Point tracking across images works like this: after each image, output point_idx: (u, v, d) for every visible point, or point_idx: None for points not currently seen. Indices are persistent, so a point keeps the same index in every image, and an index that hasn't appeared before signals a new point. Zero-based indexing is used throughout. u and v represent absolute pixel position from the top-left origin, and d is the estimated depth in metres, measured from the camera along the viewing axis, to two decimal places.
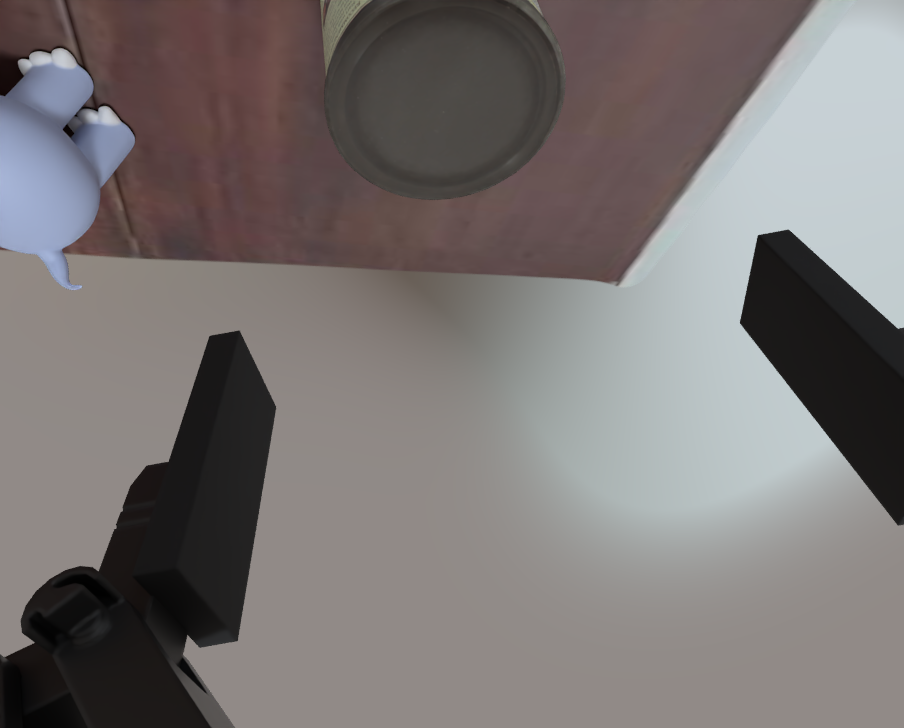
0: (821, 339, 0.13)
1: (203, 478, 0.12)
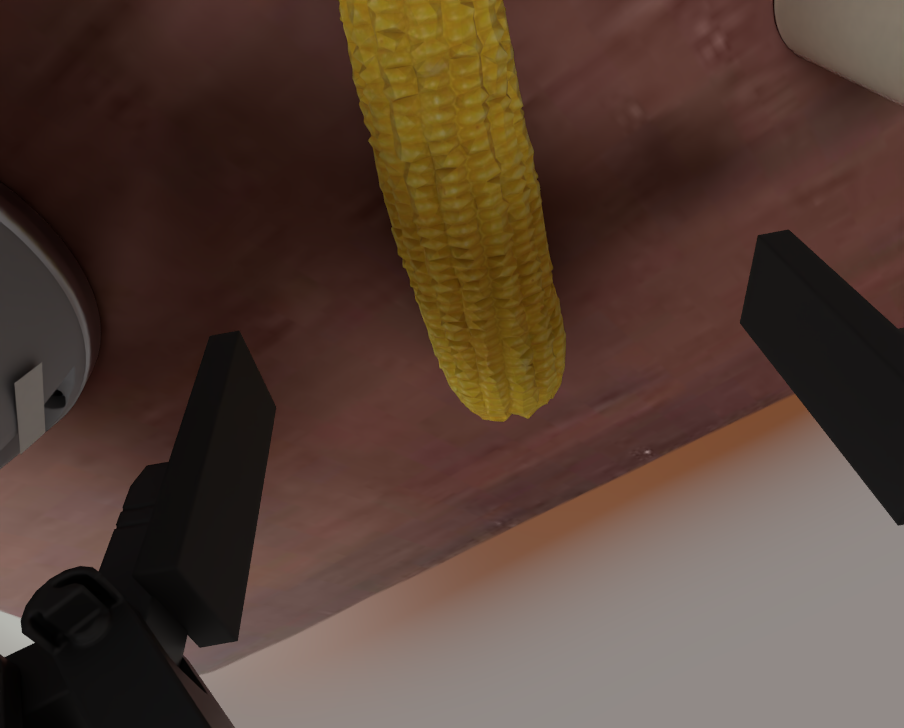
0: (821, 339, 0.13)
1: (203, 478, 0.12)
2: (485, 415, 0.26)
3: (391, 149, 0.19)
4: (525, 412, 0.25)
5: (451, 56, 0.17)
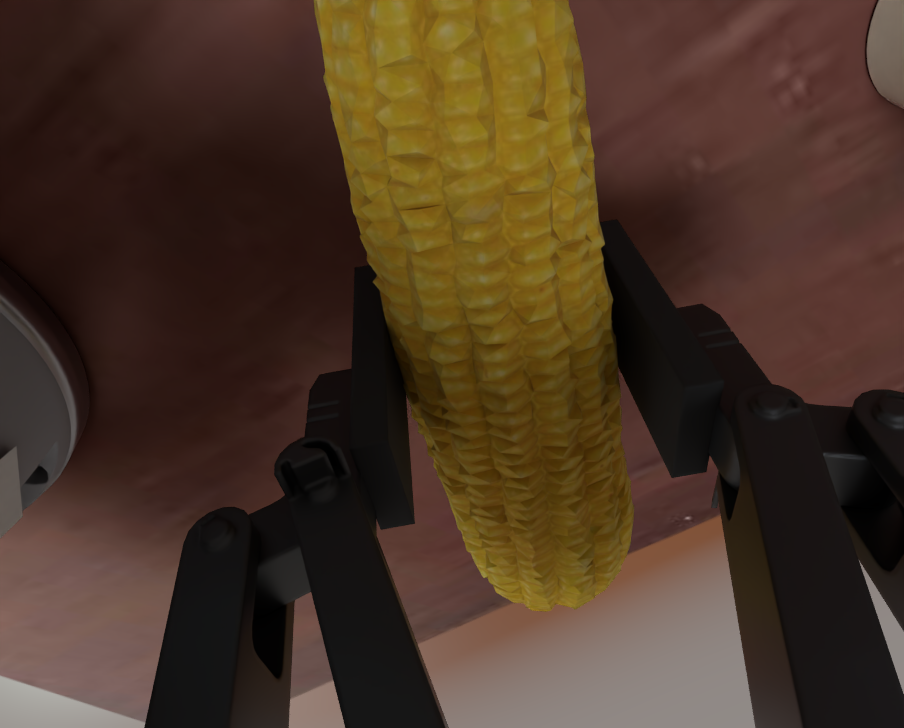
0: (624, 316, 0.14)
1: None
2: (522, 602, 0.20)
3: (407, 309, 0.13)
4: (577, 607, 0.19)
5: (506, 193, 0.10)
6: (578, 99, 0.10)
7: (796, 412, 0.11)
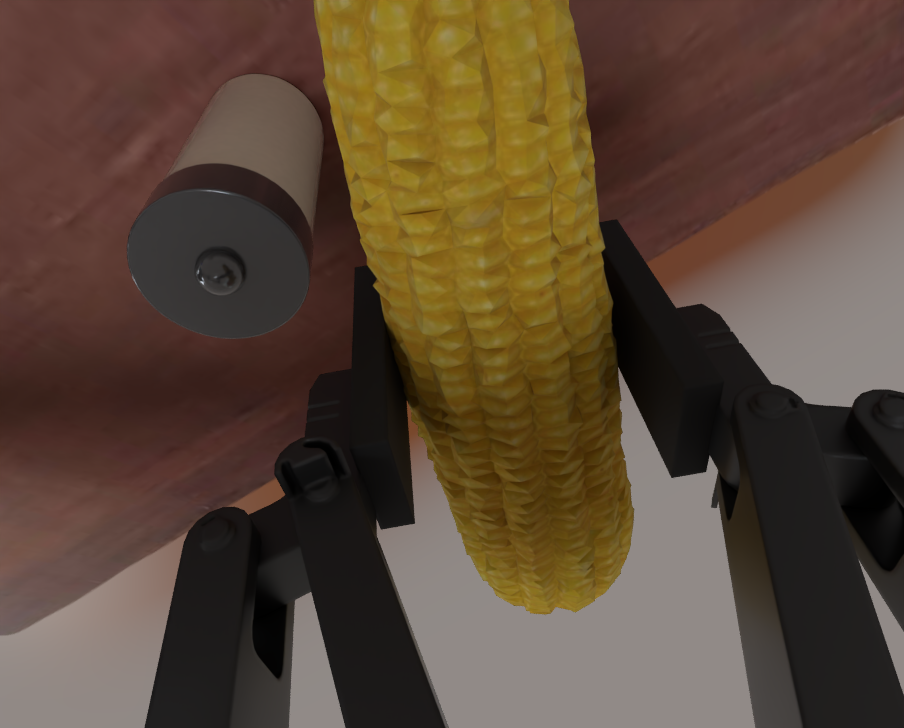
0: (624, 316, 0.14)
1: None
2: (522, 604, 0.20)
3: (407, 313, 0.13)
4: (577, 610, 0.19)
5: (507, 197, 0.10)
6: (578, 103, 0.10)
7: (796, 412, 0.11)
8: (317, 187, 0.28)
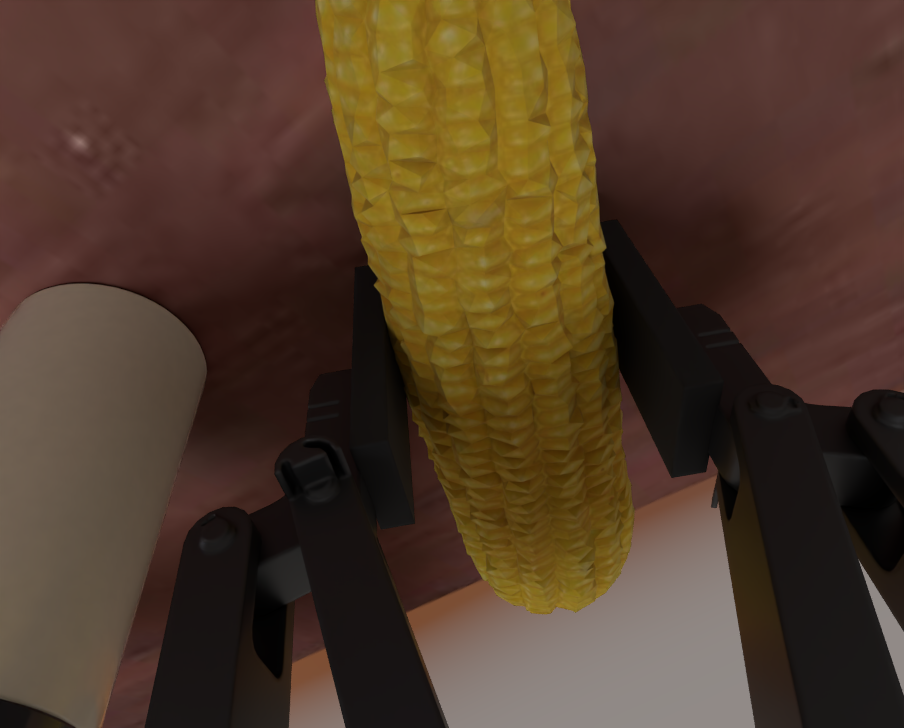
0: (624, 316, 0.14)
1: None
2: (522, 604, 0.20)
3: (408, 312, 0.13)
4: (577, 610, 0.19)
5: (509, 197, 0.10)
6: (580, 103, 0.10)
7: (796, 412, 0.11)
8: (155, 520, 0.16)
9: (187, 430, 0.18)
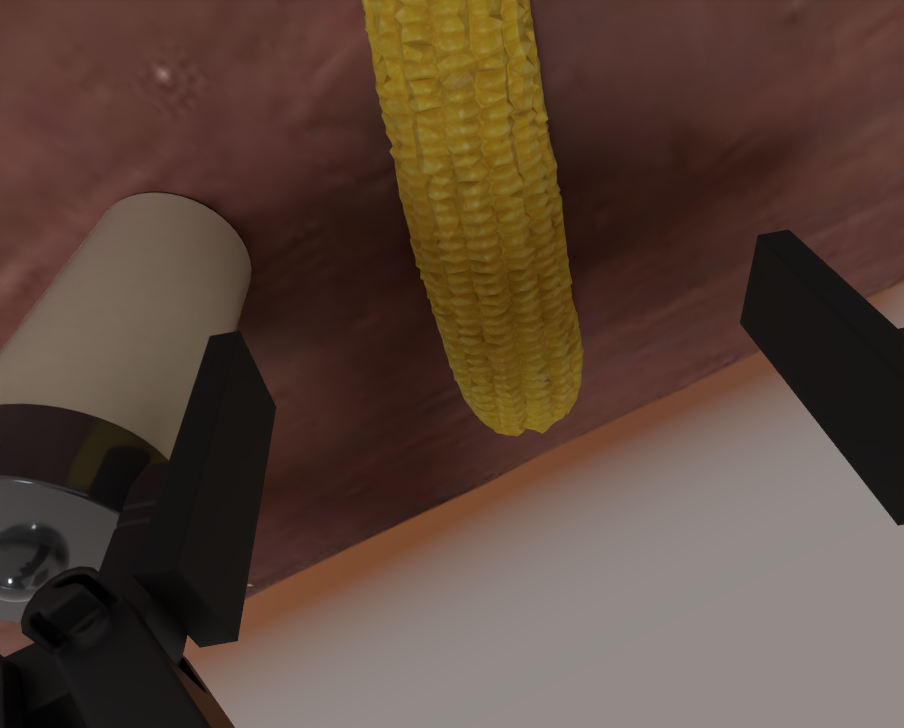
0: (821, 339, 0.13)
1: (203, 478, 0.12)
2: (499, 429, 0.26)
3: (413, 161, 0.19)
4: (540, 427, 0.25)
5: (477, 69, 0.16)
6: (523, 9, 0.16)
7: None
8: None
9: (238, 311, 0.23)
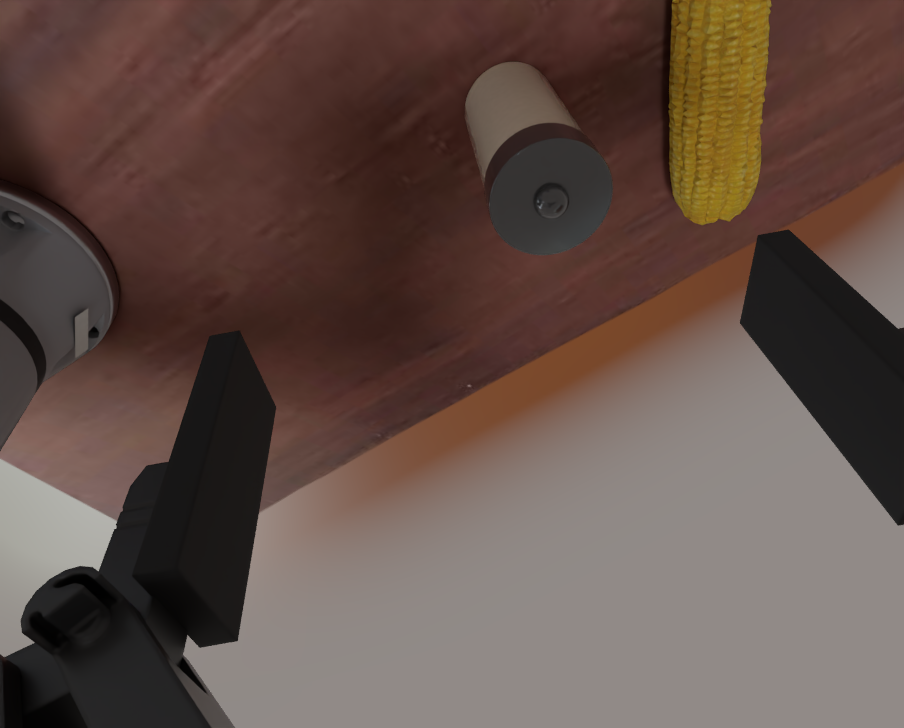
0: (821, 339, 0.13)
1: (203, 478, 0.12)
2: (702, 218, 0.42)
3: (698, 28, 0.34)
4: (732, 212, 0.41)
5: None
6: None
7: None
8: None
9: None
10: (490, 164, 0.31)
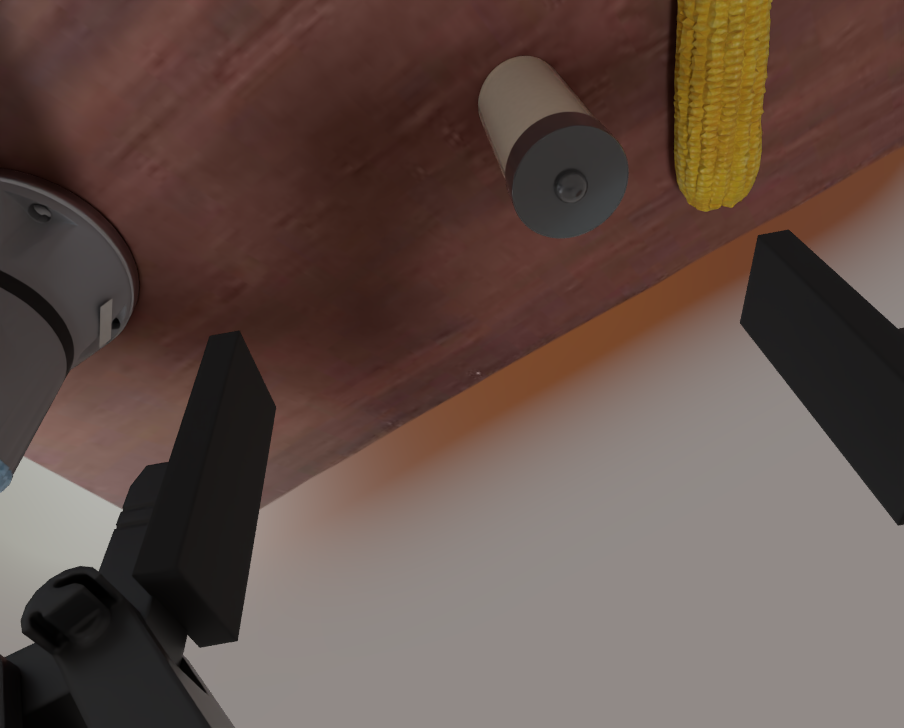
0: (821, 339, 0.13)
1: (203, 478, 0.12)
2: (706, 205, 0.43)
3: (704, 22, 0.36)
4: (734, 199, 0.43)
5: None
6: None
7: None
8: None
9: None
10: (512, 151, 0.32)
